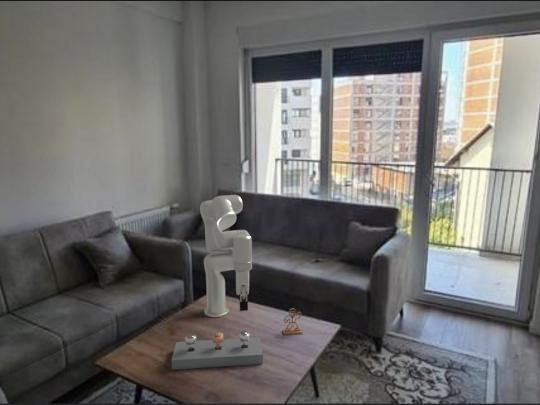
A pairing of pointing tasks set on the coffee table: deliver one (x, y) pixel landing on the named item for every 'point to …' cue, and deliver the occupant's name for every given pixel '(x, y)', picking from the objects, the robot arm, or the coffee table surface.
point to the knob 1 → (190, 340)
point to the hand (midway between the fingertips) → (243, 305)
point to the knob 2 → (244, 337)
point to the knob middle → (217, 339)
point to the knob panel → (217, 354)
